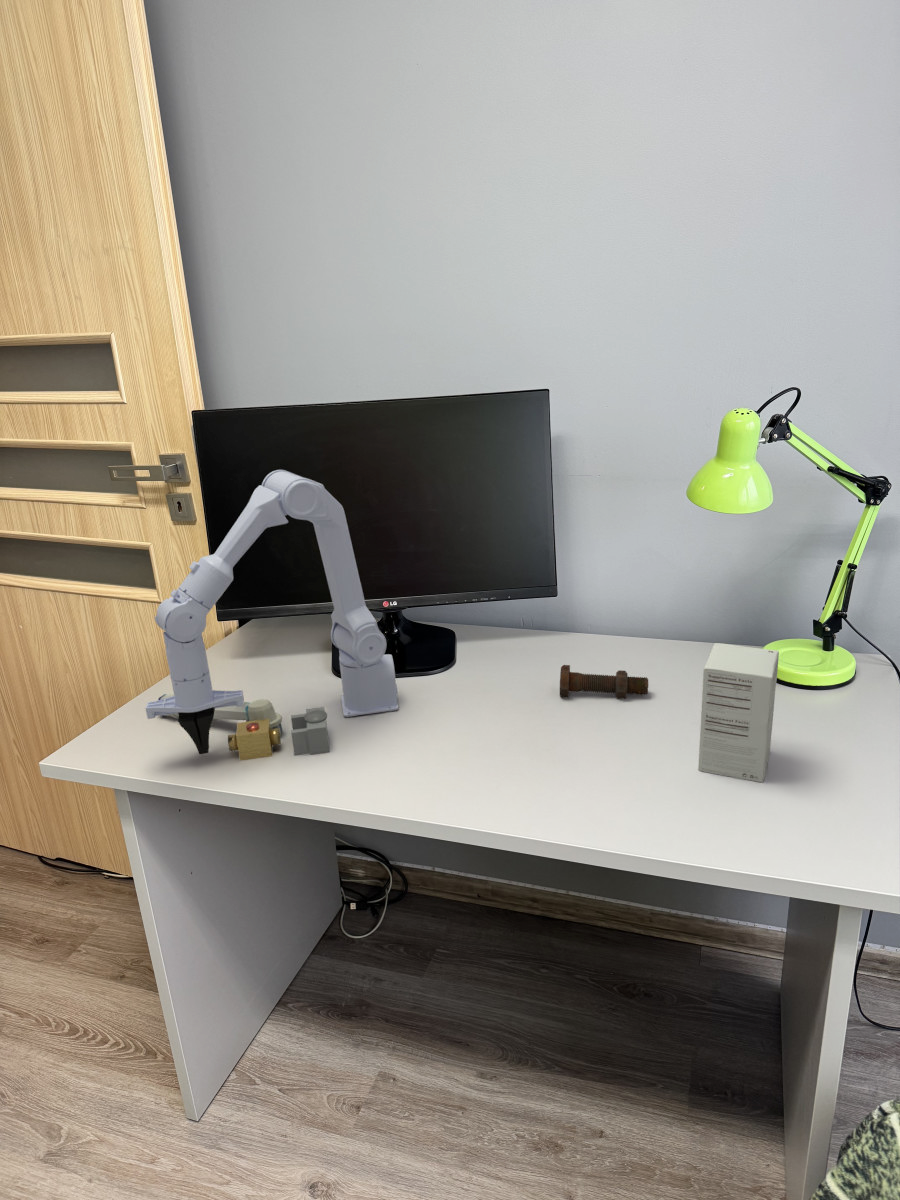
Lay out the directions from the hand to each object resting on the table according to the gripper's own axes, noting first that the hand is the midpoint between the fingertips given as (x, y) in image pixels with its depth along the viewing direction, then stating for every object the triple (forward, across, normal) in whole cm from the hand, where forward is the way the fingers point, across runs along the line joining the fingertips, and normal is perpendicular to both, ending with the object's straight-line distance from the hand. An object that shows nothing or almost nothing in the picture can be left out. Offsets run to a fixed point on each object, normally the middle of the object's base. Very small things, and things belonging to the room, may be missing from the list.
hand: (204, 750), depth 132 cm
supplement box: (+2, -78, +23) cm, 82 cm away
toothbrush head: (+2, -2, -11) cm, 11 cm away
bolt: (+2, -68, -3) cm, 68 cm away
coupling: (+1, -17, 0) cm, 17 cm away
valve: (+2, -8, 0) cm, 8 cm away
